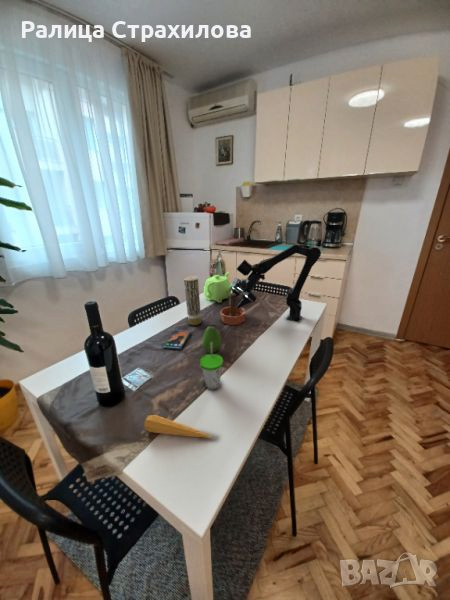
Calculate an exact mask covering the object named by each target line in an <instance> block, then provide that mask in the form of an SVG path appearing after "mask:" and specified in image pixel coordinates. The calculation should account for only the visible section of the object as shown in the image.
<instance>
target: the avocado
mask: <svg viewBox="0 0 450 600" xmlns="http://www.w3.org/2000/svg"><path fill="white" fill-rule="evenodd" d="M201 340H202V342H201V343H202V347H203V348H204V350H205V351H206V352H207V353H209V354H211V342H212V352H213V353H216V352H217V351H218V350H219V349H220V348H221V345H222V337H221V335H220V332H219V331H218V329H217V328H216V327H214V326H212V325H209V326H207V327H206V328H205V331H204V333H203V336H202V339H201Z"/></svg>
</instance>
